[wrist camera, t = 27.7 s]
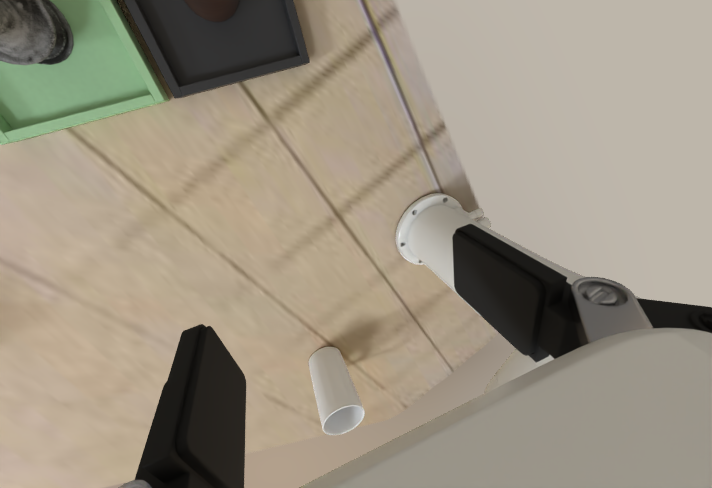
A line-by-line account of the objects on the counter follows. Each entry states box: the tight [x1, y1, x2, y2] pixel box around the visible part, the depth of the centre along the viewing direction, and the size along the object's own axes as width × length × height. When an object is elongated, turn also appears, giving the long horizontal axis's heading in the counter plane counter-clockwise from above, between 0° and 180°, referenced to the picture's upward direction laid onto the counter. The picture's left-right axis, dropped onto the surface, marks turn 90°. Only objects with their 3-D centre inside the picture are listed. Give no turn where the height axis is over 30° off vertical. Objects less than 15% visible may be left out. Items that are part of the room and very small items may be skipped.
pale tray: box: [0, 0, 169, 145], centre depth 22 cm, size 14×15×2 cm
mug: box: [309, 347, 365, 435], centre depth 48 cm, size 10×7×12 cm, turn 25°
